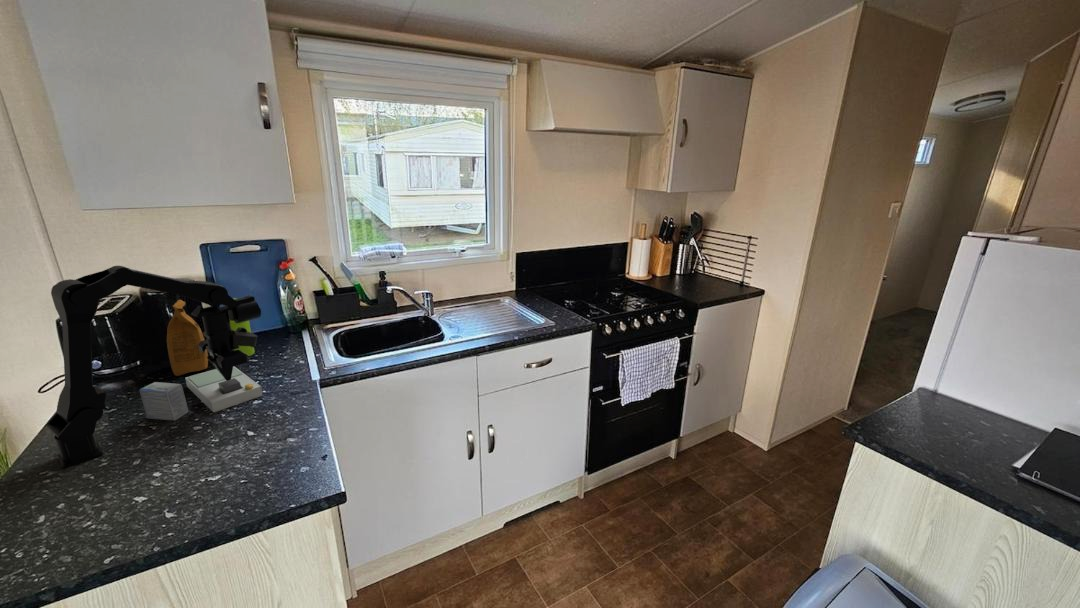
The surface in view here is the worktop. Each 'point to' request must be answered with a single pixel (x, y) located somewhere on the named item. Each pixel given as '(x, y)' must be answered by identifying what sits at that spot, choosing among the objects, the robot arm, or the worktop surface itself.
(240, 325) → the soap dispenser
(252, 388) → the switch panel
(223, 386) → the push button
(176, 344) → the amber trigger bottle
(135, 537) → the worktop surface
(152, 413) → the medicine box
